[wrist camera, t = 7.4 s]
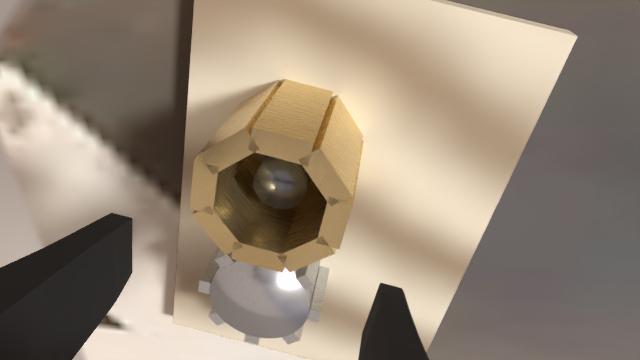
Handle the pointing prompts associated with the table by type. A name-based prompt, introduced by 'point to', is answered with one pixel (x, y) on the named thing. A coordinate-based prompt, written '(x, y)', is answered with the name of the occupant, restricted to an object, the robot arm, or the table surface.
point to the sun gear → (263, 297)
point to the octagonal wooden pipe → (287, 144)
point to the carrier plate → (377, 139)
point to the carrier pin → (281, 183)
